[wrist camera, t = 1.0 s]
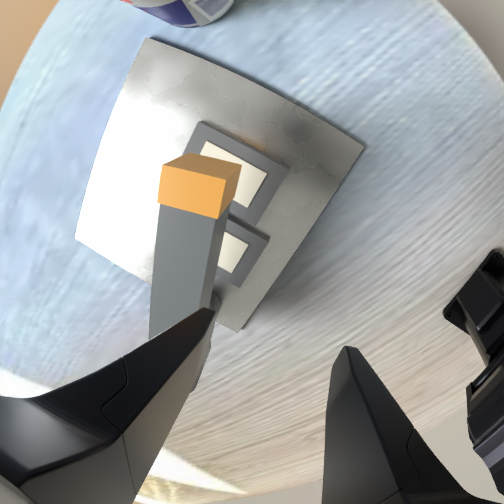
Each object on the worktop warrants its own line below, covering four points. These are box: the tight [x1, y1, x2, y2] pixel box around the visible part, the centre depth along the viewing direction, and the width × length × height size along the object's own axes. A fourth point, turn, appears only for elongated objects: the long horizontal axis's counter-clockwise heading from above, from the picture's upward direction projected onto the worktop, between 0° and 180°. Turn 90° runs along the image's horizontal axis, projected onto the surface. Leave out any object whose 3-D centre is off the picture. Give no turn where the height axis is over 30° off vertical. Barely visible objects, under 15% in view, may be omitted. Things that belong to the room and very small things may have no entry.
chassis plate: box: [75, 37, 364, 333], centre depth 18 cm, size 15×16×4 cm
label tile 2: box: [216, 216, 270, 288], centre depth 21 cm, size 6×4×1 cm, turn 62°
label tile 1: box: [182, 121, 289, 226], centre depth 19 cm, size 6×4×1 cm, turn 62°
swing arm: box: [149, 152, 242, 393], centre depth 16 cm, size 13×4×3 cm, turn 167°
